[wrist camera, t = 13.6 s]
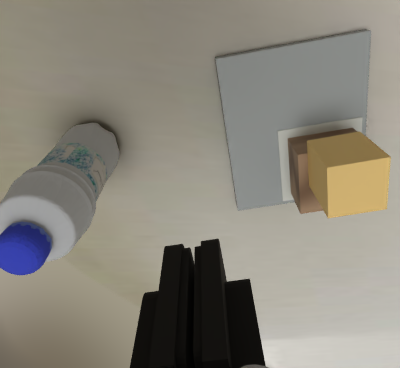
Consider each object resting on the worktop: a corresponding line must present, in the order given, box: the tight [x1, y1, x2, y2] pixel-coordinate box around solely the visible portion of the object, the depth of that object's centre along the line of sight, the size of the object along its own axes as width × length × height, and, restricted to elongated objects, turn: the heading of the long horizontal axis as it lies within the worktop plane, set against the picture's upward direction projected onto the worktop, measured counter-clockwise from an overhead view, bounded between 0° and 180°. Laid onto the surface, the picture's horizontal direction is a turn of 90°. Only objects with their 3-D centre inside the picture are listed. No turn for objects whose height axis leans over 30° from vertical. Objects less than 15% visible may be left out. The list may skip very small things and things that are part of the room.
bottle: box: [0, 123, 120, 275], centre depth 31 cm, size 7×7×20 cm
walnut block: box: [288, 128, 357, 214], centre depth 38 cm, size 7×7×4 cm
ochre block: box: [307, 131, 391, 218], centre depth 32 cm, size 5×5×6 cm
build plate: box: [215, 29, 371, 211], centre depth 38 cm, size 18×15×1 cm
